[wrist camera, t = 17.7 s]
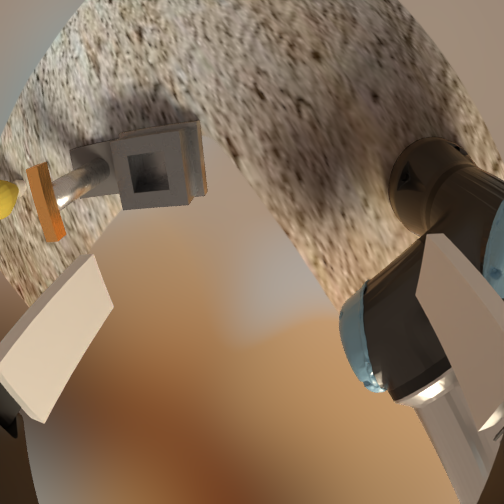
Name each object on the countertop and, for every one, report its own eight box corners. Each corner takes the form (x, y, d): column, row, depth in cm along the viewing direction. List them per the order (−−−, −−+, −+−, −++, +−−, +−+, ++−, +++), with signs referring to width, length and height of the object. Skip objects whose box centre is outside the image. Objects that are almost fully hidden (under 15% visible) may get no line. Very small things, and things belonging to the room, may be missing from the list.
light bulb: (18, 160, 39) (-20, 179, 30) (39, 184, 41) (2, 207, 33) (7, 186, 42) (-27, 208, 33) (27, 209, 44) (-7, 234, 35)
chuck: (200, 120, 36) (187, 125, 31) (207, 191, 41) (197, 208, 36) (125, 131, 37) (102, 139, 31) (136, 197, 42) (117, 214, 36)
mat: (127, 136, 38) (124, 138, 37) (136, 189, 41) (133, 191, 41) (73, 148, 38) (69, 150, 37) (83, 196, 42) (80, 198, 41)
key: (84, 143, 37) (21, 171, 25) (104, 138, 37) (41, 165, 25) (96, 199, 41) (42, 242, 29) (115, 197, 41) (62, 241, 29)
